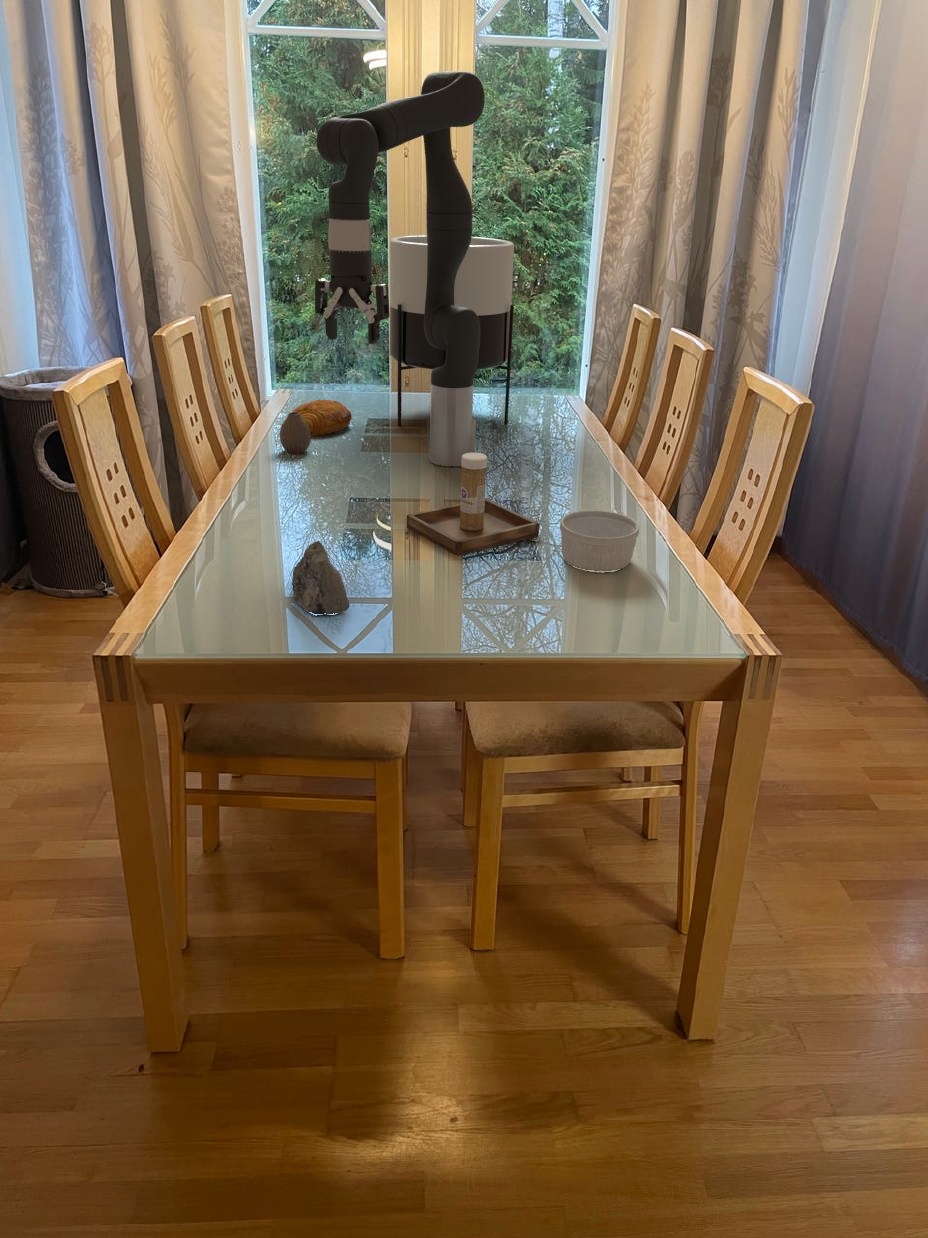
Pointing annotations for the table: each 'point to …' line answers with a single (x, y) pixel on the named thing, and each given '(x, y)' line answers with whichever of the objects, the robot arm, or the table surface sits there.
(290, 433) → the vase
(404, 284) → the planter
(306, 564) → the mineral rock
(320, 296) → the robot arm
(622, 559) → the ramekin
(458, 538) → the walnut tray
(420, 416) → the table surface
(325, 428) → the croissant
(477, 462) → the sprinkles bottle
